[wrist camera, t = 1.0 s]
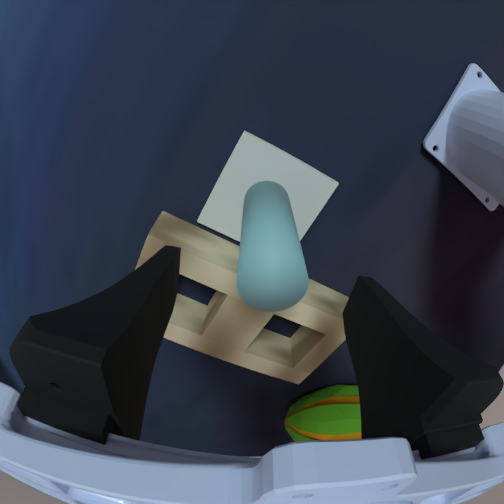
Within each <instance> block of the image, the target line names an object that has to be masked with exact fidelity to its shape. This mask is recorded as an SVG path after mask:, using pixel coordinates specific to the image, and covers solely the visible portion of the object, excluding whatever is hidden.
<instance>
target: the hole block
mask: <svg viewBox="0 0 504 504" xmlns="http://www.w3.org/2000/svg"><path fill="white" fill-rule="evenodd" d="M165 245H169V246H175V247H181V255H180V270H179V274H181V275H183V276H186V277H188V278H190V279H192V280H195V281H197V282H199V283H201V284H204V285H206V286H208V287H211V288H213V289H215V290H216V292H215V294H214V295H213V297H212V299H211V300H210V302H209V304H208V306H207V305H205V304H202V303H200V302H197V301H195V300H193V299H190V298H188V297H186V296H183V295H181V294H179V293H177V297H176V301H175V305H174V309H173V312H172V315H171V318H170V320H169V323H168V326H167V329H166V331H165V334H164V338H166V339H169V340H171V341H174V342H176V343H179V344H181V345H184V346H186V347H189V348H192V349H194V350H197V351H199V352H202V353H205V354H208V355H210V356H213V357H216V358H219V359H221V360H224V361H227V362H230V363H233V364H236V365H239V366H242V367H245V368H248V369H251V370H254V371H257V372H260V373H263V374H266V375H269V376H273V377H276V378H279V379H282V380H286V381H289V382H293V383H296V384H300V383H301V382H302V381H303V380H304V379H305V378H306V377H307V376H308V375H310V374H311V373H312V372H313V371H314V370H315V369H316V368H317V367H318V366H319V365H320V364H321V363H322V362H323V361H324V360H325V359H326V358H327V357H328V356H329V355H330V354H331V353H332V352H333V351H334V350H335V349H336V348H337V347H338V346H339V345H340V344H341V343H342V342H343V341H344V340H345V339H346V336H345V331H344V324H343V314H342V313H343V310H344V308H345V306H346V304H347V302H348V299H349V298H348V297H347V296H345V295H343V294H341V293H339V292H337V291H334V290H332V289H330V288H328V287H326V286H324V285H321V284H319V283H317V282H315V281H313V280H311V279H309V278H308V280H309V284H308V289H307V291H306V293H305V295H304V297H303V298H302V299H301V300H300V301H299V302H298V303H297V304H295V305H294V306H292V307H290V308H288V309H285V310H281V311H274V312H268V311H262V310H258V309H255V308H253V307H251V306H250V305H248V304H247V303H246V302H245V301H244V300H243V299H242V298H241V296H240V295H239V293H238V290H237V273H238V261H239V249H240V246H237V245H235V244H233V243H231V242H229V241H227V240H225V239H222V238H220V237H218V236H216V235H214V234H212V233H209V232H207V231H205V230H203V229H201V228H199V227H197V226H194V225H192V224H190V223H188V222H186V221H184V220H182V219H179V218H177V217H175V216H173V215H171V214H169V213H166V212H164V211H162V213H161V214H160V216H159V218H158V219H157V221H156V222H155V224H154V226H153V227H152V229H151V231H150V232H149V234H148V236H147V239H146V242H145V244H144V247H143V250H142V252H141V255H140V258H139V260H138V263H137V266H136V268H135V270H136V269H137V268H138V267H140V266H141V265H142V264H143V263H145V262H146V261H147V260H148V259H149V258H151V257H152V256H153V255H154V254H155V253H157V252H158V251H159V250H160V249H161V248H162V247H164V246H165ZM274 314H276V315H278V316H281V317H283V318H286V319H288V320H291V321H293V322H296V323H298V324H301V326H300V327H299V329H298V330H297V331H296V332H295V333H294V334H293V335H292V337H291V338H288V337H286V336H283V335H280V334H278V333H275V332H272V331H270V330H267V329H264V328H263V327H264V326H265V325H266V324H267V322H268V321H269V320H270V319H271V317H272V316H273V315H274Z"/></svg>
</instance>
